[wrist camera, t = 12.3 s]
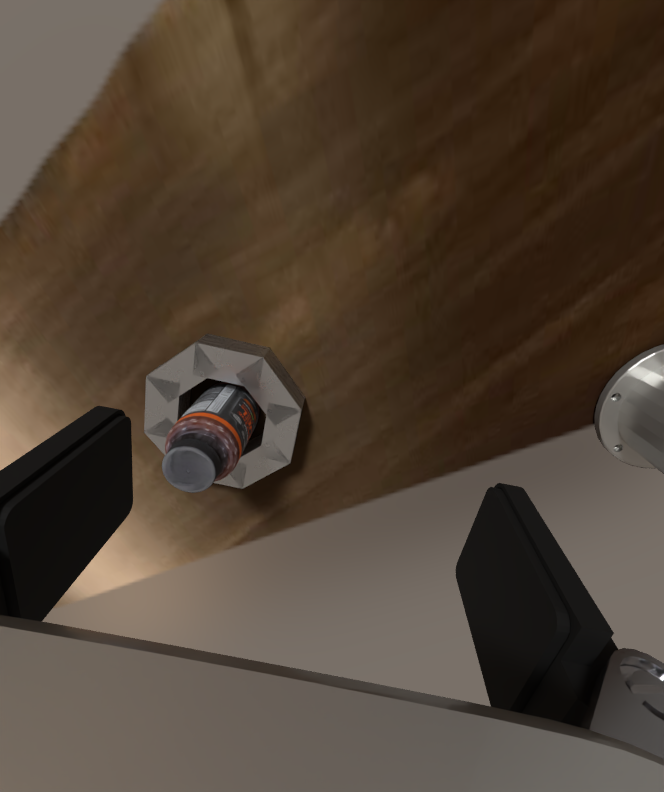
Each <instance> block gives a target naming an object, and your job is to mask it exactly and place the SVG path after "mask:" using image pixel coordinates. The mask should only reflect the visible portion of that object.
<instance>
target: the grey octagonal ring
mask: <svg viewBox="0 0 664 792" xmlns="http://www.w3.org/2000/svg"><path fill="white" fill-rule="evenodd" d="M207 378H209V379H214V380H218V381H223V382H227V383H232V384H237V385H241V386H245V388H246V389H247V390H248V392H249V393H250V394H251V395H252V397H253V398H254V399H255V401H256V402H257V403H258V405H259V406H260V407H261V409H262V410H263V411H264V412H265V414H266V421H265V427H264V432H263V433H262V434H261V435H259V436H257V437H255V438H254V439H252V440H250V441H248V443H247V445H246V447H245V449H244V451H243V453H242V456H241V458H240V459H239V461H238V463H237V465H236V467H235V468H234V470H233V471H232V472H231V473H230V474H229V475H228V476H226V477H225V478H223V479H221V480H219V481H215V482H213V483H217V484H222V485H227V486H231V487H236V488H241V489H243V488H245V487H247V486H249V485H251V484H252V483H254V482H256V481H258V480H260V479H262V478H264V477H265V476H267V475H269V474H271V473H273V472H275V471H277V470H279V469H280V468H282V467H284V466H286V465H288V464H290V463H291V459H292V455H293V451H294V446H295V441H296V436H297V432H298V427H299V422H300V418H301V413H302V408H303V404H304V400H305V396H304V395H303V394H302V392H301V391H300V389H299V388H298V387H297V385H296V384H295V382H294V381H293V379H292V378H291V377H290V375H289V374H288V372H287V371H286V370H285V368H284V367H283V365H282V364H281V363H280V361H279V360H278V358H277V357H276V356H275V354H274V353H273V351H272V350H271V349H270V347H264V346H260V345H256V344H251V343H247V342H242V341H238V340H233V339H229V338H224V337H220V336H216V335H211V334H206V335H205V336H203V337H202V338H201V339H199V340H198V341H196V342H195V343H193V344H192V345H190V346H189V347H187V348H186V349H184V350H183V351H181V352H180V353H178V354H177V355H176V356H174V357H173V358H171V359H170V360H168V361H167V362H165V363H164V364H162V365H160V366H159V367H157V368H156V369H155V370H153V371H152V372H151V373H149V374H148V375H147V376H146V398H145V428H144V433H145V434H146V435H147V436H148V437H149V438H150V439H151V440H152V441H153V443H154V444H155V445H156V446H157V447H158V448H159V449H160V450H161V451H162V452H163V454H164V455H166V452H165V441H166V437H167V435H168V433H169V431H170V430H171V428H172V427H173V426H174V425H175V423H176V422H177V421H178V420H179V419H180V418H181V417H182V416H183V415H184V413H185V412H186V411H187V410H188V409H189V406H190V394H191V388H193V387H194V386H196V385H197V384H199V383H200V382H202V381H203V380H205V379H207Z"/></svg>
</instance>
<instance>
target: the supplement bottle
mask: <svg viewBox="0 0 664 792" xmlns="http://www.w3.org/2000/svg"><path fill="white" fill-rule="evenodd" d="M258 419H259V405H258V403H257V402H256V401H255V399H254V398H253V397H252V395H251V394H250V393H249V392H248V390H247V389H246V388H245V387H244V386H241V385H237V384H232V383H227V382H220V383H216V384H214V385H212V386H211V387H209V388H208V389H207V390H206V391H205V392H204V393H203V394H202V395H201V396H200V397H199V398H198V399H197V400H196V401H195V402H194V404H193V405H192V406H191V407H190V408H189V409H188V410H187V411H186V412H185V413H184V415H183V416H182V417H181V418H180V419H179V420H178V421H177V422H176V423H175V425H174V426H173V427H172V428H171V430H170V431H169V433H168V435H167V437H166V441H165V452H166V455H165V457H164V459H163V462H162V470H163V474H164V476H165V477H166V479H167V480H168V482H169V483H170V484H172V485H173V486H174V487H176V488H178V489H180V490H182V491H185V492H192V493H194V492H201V491H204V490H205V489H207V488H209V487H210V486H211V485H212V484H213V482H215V481H219V480H221V479H223V478H225V477H226V476H228V475H229V474H230V473H231V472H232V471H233V470H234V468H235V467H236V465H237V463H238V461H239V459H240V458H241V456H242V453H243V451H244V449H245V447H246V445H247V443H248V441H249V439H250V437H251V435H252V433H253V431H254V429H255V426H256V424H257V422H258Z"/></svg>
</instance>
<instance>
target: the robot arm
mask: <svg viewBox="0 0 664 792" xmlns="http://www.w3.org/2000/svg"><path fill="white" fill-rule="evenodd" d="M594 420H595V430H596V433H597V436H598V438H599V440H600V442H601V443H602V445H603V446H604V447H605V448H606V449H607V450H608V451H609V452H610V453H611V454H612V455H613V456H615V457H616V458H618V459H619V460H620V461H622V462H624V463H627V464H629V465H632V466H637V467H641V468H657V469H658V470H659V471H661V472H662V473H663V474H664V345H660V346H657V347H654V348H652V349H650V350H648V351H646V352H644V353H641V354H640V355H638V356H637V357H635V358H634V359H632V360H631V361H629V362H628V363H627V364H625V365H624V366H623V367H622V368H621V369H620V370H619V371H617V372H616V374H615V375H614V376H613V377H612V378H611V380H610V381H609V382H608V383H607V385H606V386H605V388H604V390H603V391H602V393H601V395H600V398H599V400H598V403H597V405H596V411H595V417H594ZM132 504H133V483H132V442H131V420H130V418H129V417H125V413H124V412H123V411H122V410H119V409H113V408H108V407H103V406H97V407H95V408H93V409H92V410H90V411H89V412H87V413H86V414H84V415H83V416H81V417H80V418H78V419H77V420H75V421H74V422H72V423H71V424H69V425H68V426H66V427H65V428H63V429H62V430H60V431H59V432H57V433H56V434H54V435H53V436H52V437H50V438H49V439H47V440H46V441H44V442H43V443H41V444H40V445H38V446H37V447H35V448H34V449H32V450H31V451H29V452H28V453H26V454H25V455H23V456H22V457H20V458H19V459H17V460H16V461H14V462H13V463H11V464H10V465H8V466H7V467H5V468H4V469H2V470H1V471H0V792H664V663H662V662H660V661H659V660H657V659H655V658H653V657H652V656H650V655H648V654H646V653H643V652H640V651H637V650H634V649H626V648H622V649H619V650H618V648H617V647H616V645H615V643H614V642H613V640H612V638H611V637H612V635H613V631H612V630H611V628H610V626H609V625H608V623H607V621H606V620H605V618H604V617H603V615H602V614H601V612H600V610H599V609H598V607H597V605H596V604H595V603H594V601H593V599H592V598H591V596H590V594H589V593H588V591H587V590H586V588H585V586H584V585H583V583H582V581H581V580H580V578H579V577H578V575H577V573H576V572H575V570H574V569H573V567H572V566H571V564H570V562H569V561H568V559H567V557H566V556H565V554H564V553H563V551H562V549H561V548H560V546H559V545H558V543H557V541H556V540H555V538H554V537H553V535H552V533H551V532H550V530H549V529H548V527H547V525H546V524H545V522H544V521H543V519H542V517H541V516H540V514H539V512H538V511H537V509H536V508H535V506H534V504H533V503H532V501H531V500H530V498H529V496H528V495H527V493H526V492H525V490H524V489H523V488H521V487H518V486H512V485H507V484H501V483H498V484H497V485H496V486H495V487H494V488H493V487H490V488H489V489H488V490H487V492H486V494H485V497H484V499H483V501H482V504H481V506H480V509H479V511H478V514H477V516H476V518H475V521H474V523H473V526H472V528H471V531H470V533H469V535H468V538H467V540H466V543H465V545H464V548H463V550H462V553H461V555H460V557H459V560H458V562H457V566H456V579H457V582H458V586H459V590H460V593H461V597H462V601H463V605H464V608H465V612H466V616H467V620H468V623H469V627H470V631H471V634H472V638H473V642H474V645H475V649H476V653H477V656H478V660H479V664H480V667H481V671H482V675H483V678H484V682H485V686H486V690H487V693H488V697H489V701H490V704H491V707H489V706H485V705H480V704H475V703H471V702H466V701H461V700H456V699H451V698H445V697H440V696H435V695H430V694H425V693H420V692H414V691H410V690H405V689H399V688H394V687H389V686H384V685H379V684H374V683H368V682H363V681H358V680H353V679H348V678H343V677H338V676H332V675H327V674H321V673H317V672H311V671H306V670H301V669H296V668H290V667H285V666H280V665H274V664H269V663H264V662H258V661H253V660H248V659H243V658H237V657H232V656H227V655H221V654H216V653H210V652H205V651H200V650H194V649H189V648H184V647H179V646H173V645H167V644H162V643H156V642H151V641H146V640H139V639H135V638H129V637H123V636H118V635H113V634H107V633H102V632H96V631H91V630H85V629H79V628H74V627H69V626H63V625H58V624H52V623H47V622H42V620H43V619H44V618H45V617H46V616H47V614H48V613H49V612H50V611H51V609H52V608H53V607H54V606H55V604H56V603H57V602H58V601H59V600H60V598H61V597H62V596H63V595H64V593H65V592H66V591H67V590H68V588H69V587H70V586H71V585H72V584H73V582H74V581H75V580H76V579H77V577H78V576H79V575H80V574H81V572H82V571H83V570H84V569H85V568H86V566H87V565H88V564H89V563H90V561H91V560H92V559H93V558H94V556H95V555H96V554H97V553H98V552H99V550H100V549H101V548H102V547H103V545H104V544H105V543H106V542H107V541H108V539H109V538H110V537H111V536H112V534H113V533H114V532H115V531H116V529H117V528H118V527H119V526H120V525H121V523H122V522H123V521H124V520H125V518H126V517H127V516H128V514H129V513H130V511H131V508H132Z"/></svg>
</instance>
